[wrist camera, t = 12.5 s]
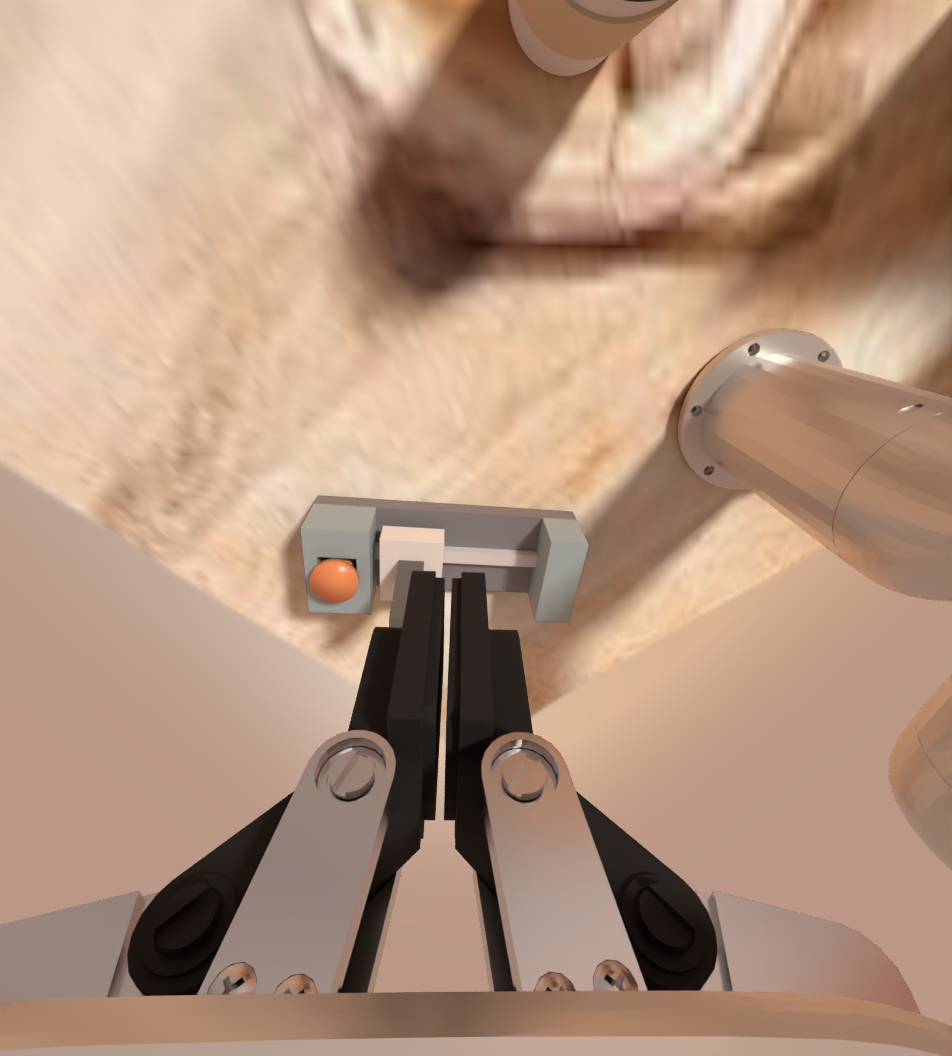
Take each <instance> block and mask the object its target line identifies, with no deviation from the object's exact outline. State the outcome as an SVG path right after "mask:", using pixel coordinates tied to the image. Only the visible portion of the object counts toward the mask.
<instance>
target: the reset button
mask: <svg viewBox="0 0 952 1056" xmlns="http://www.w3.org/2000/svg"><path fill="white" fill-rule="evenodd" d="M355 564H356V559H348V558H329V557H328V559H327V560H324V561H321V562H320V563H318V564H317V565H316V566H315V568H314V569H313V572H312V574H311V576H310V587H311V589H312V591H313V592H314V594H315V595H316V596H318V597H319V598H321V599H322V600H325V601H328V602H332V603H340V602H345V601H347V600H349V599H351V598H352V597H353V596H354V595H355V594H356V592H357V589H358V586H359V581H360V578H359V574H358V572H357V570H356V569H355V568H354V567H355Z"/></svg>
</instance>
